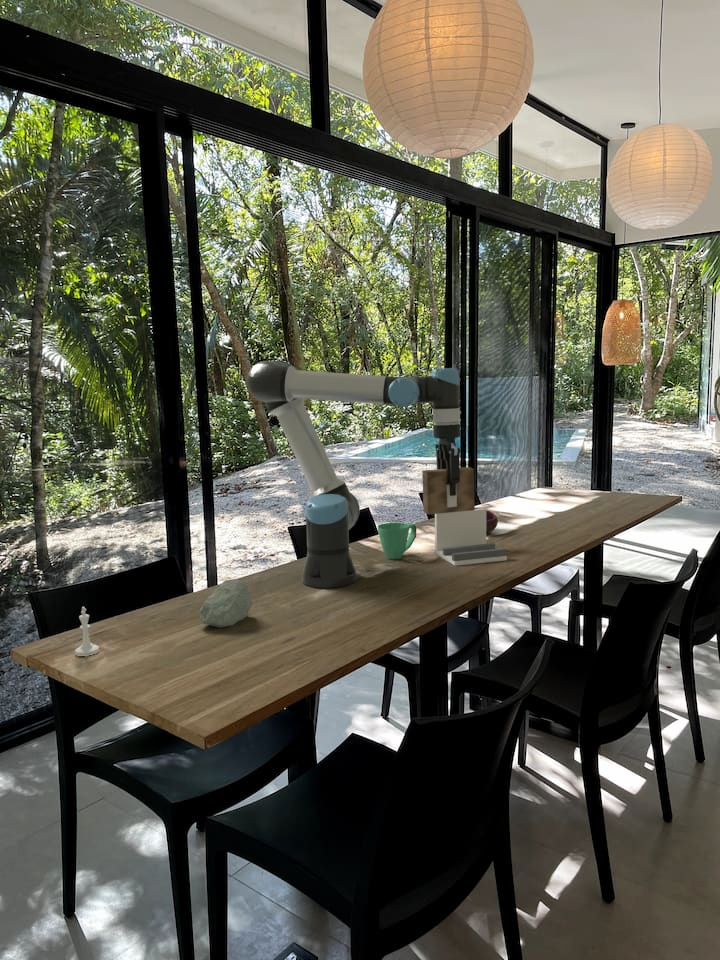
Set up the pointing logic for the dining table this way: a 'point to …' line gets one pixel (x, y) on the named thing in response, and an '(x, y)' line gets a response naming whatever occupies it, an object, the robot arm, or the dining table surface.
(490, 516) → the bowl
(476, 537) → the track sill
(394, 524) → the mug
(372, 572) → the dining table surface
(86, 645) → the chess piece
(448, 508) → the door slab
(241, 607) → the decorative stone
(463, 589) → the dining table surface
